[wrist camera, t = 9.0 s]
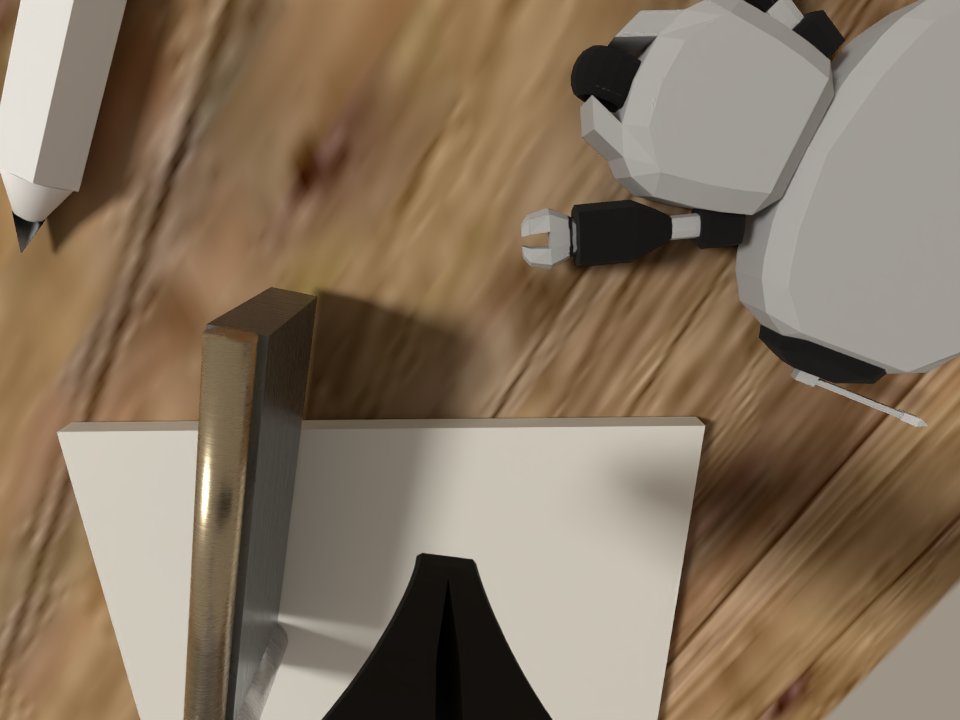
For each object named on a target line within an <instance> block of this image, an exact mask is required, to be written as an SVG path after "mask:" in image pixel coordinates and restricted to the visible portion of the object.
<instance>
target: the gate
mask: <svg viewBox="0 0 960 720" xmlns="http://www.w3.org/2000/svg"><path fill="white" fill-rule="evenodd" d="M316 302H317V296H313V295H308V294H303V293H298V292H293V291H288V290H283V289H278V288H273V287H271V288H269V289H267V290H265V291H264V292H262V293H260V294H258V295H257V296H255V297H253V298H251V299H250V300H248V301H246V302H244V303H243V304H241V305H239V306H238V307H236V308H234V309H232V310H231V311H229V312H227V313H225V314H224V315H222V316H220V317H218V318H217V319H215V320H213V321H211V322H210V323H208V324H207V329H206V330H205V331H204V332H203V345H202V364H201V384H200V403H199V423H198V443H197V462H196V482H195V501H194V521H193V541H192V560H191V580H190V599H189V619H188V639H187V658H186V678H185V697H184V717H183V720H237V717H238V715H239V713H240V710H241V708H242V705H243V703H244V701H245V698H246V696H247V693H248V691H249V689H250V686H251V684H252V681H253V679H254V677H255V674H256V672H257V669H258V667H259V665H260V662H261V660H262V657H263V655H264V653H265V650H266V648H267V645H268V643H269V641H270V638H271V636H272V633H273V631H274V628H275V626H276V624H277V621H278V616H279V607H280V599H281V591H282V583H283V574H284V566H285V558H286V550H287V541H288V533H289V525H290V517H291V508H292V500H293V492H294V484H295V475H296V467H297V459H298V451H299V442H300V434H301V426H302V418H303V409H304V401H305V393H306V385H307V376H308V368H309V360H310V352H311V343H312V335H313V327H314V319H315V310H316Z"/></svg>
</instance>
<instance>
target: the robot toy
mask: <svg viewBox="0 0 960 720" xmlns="http://www.w3.org/2000/svg"><path fill="white" fill-rule="evenodd" d="M844 41H845V39H844V38H843V37H842V35H841V34H840V32H839V31H838V30H837V28H836V27H835V26H834V24H833V23H832V22H831V20H830V19H829V17H828V16H827V15H826V13H825V12H824V11H823V10H820V11H815V12H810V13H807V14H805V15H802V14H801V12H800V11H799V9H798V8H797V7H796V5H795V4H794V3H793V1H792V0H703V1H701V2H699V3H697V4H695V5H693V6H691V7H689V8H687V9H685V10H648V11H640V12H639V13H638V14H637V15H636V16H635V17H634V18H633V19H632V20H631V21H630V22H629V23H628V24H627V25H626V26H625V27H624V28H623V29H622V30H621V31H620V32H619V33H618V34H617V35H616V36H615V37H614V38H613V40H612V41H611V42H610V44H609V45H608V46H602V45H595V46H592V47H590V48H588V49H586V50H585V51H583V52H582V53H581V55H580V56H579V57H578V58H577V60H576V62H575V64H574V66H573V70H572V74H571V87H572V90H573V93H574V95H576V96H577V97H578V98H579V99H581V100H582V101H584V102H585V103H584V104H583V105H582V106H581V108H580V115H581V130H582V138H583V139H584V140H585V141H586V142H587V143H588V144H590V145H591V146H592V147H593V148H594V149H595V150H596V151H597V152H598V153H599V154H600V155H601V156H602V157H603V158H604V159H605V160H606V161H607V162H608V164H609V166H610V169H611V171H612V174H613V176H614V178H615V180H617V181H618V182H619V183H620V184H621V185H622V186H623V187H625V188H626V189H627V190H628V191H629V192H630V193H631V194H633V195H634V196H636V197H640V198H644V199H648V200H652V201H656V202H660V203H664V204H668V205H672V206H678V207H684V208H689V209H693V210H692V213H691V214H682V215H671V216H668V215H666V214H664V213H662V212H660V211H658V210H656V209H653V208H651V207H648V206H645V205H643V204H640V203H637V202H635V201H632V200H622V201H611V202H601V203H590V204H580V205H574V207H573V208H572V210H571V217H569V216H567V215H564V214H562V213H559V212H557V211H554V210H552V209H549V208H546V209H543V210H540V211H537V212H534V213H531V214H528V215H527V216H526V218H525V219H524V221H523V222H522V224H521V236H522V237H525V236H527V235H530V234H537V233H545V232H548V245H549V246H533V247H528V246H523V245H522V251H523V258H524V259H525V260H526V262H527V263H528V264H529V265H530V266H533V267H540V268H547V269H552V268H553V267H555V266H557V265H559V264H560V263H562V262H564V261H565V260H567V259H569V258H570V257H572V256H573V259H574V262H575V264H576V267H583V266H594V265H606V264H617V263H629V262H632V261H634V260H636V259H638V258H640V257H642V256H644V255H645V254H647V253H649V252H651V251H653V250H655V249H656V248H658V247H660V246H661V245H663V244H664V243H666V242H667V241H669V240H678V239H689V238H691V239H692V240H693V242H694V243H695V244H696V245H697V246H698V247H699V248H700V249H705V248H716V247H728V246H735V245H738V244H739V246H738V251H737V259H736V270H735V271H736V278H737V285H738V292H739V299H740V301H741V302H742V303H743V305H744V306H745V307H746V308H747V309H748V310H749V311H750V312H751V314H752V315H753V316H754V317H755V318H756V319H757V320H758V321H759V322H760V324H761V327H760V334H759V338H760V339H761V340H762V341H763V342H764V343H765V344H766V345H767V346H768V347H769V349H770V350H771V351H772V352H773V353H774V354H775V355H777V356H778V357H779V358H780V359H781V360H782V361H784V362H785V363H787V364H789V365H790V366H792V367H794V368H795V369H794V370H793V372H792V374H791V377H793V378H794V379H795V380H797V381H800V382H802V383H805V384H807V385H810V386H812V387H814V386H815V384H816V385H818V386H821V387H823V388H826V389H828V390H831V391H833V392H836V393H838V394H841V395H843V396H846V397H848V398H851V399H853V400H856V401H858V402H860V403H863V404H865V405H868V406H870V407H873V408H875V409H878V410H880V411H883V412H885V413H888V414H890V415H893V416H895V417H897V418H898V419H899V420H901V421H904V422H906V423H909V424H911V425H914V426H916V427H917V426H928V425H927V424H926V423H925V422H924V421H923V420H922V419H920V418H918V417H917V416H915V415H913V414H910V413H908V412H905V411H903V410H900V409H899V410H896V409H894V408H891V407H889V406H886V405H884V404H881V403H879V402H876V401H874V400H871V399H869V398H866V397H864V396H861V395H859V394H856V393H854V392H851V391H849V390H846V389H844V388H841V387H839V386H836V385H834V384H831V383H829V382H826V381H824V380H821V379H819V378H822V379H825V380H827V381H830V382H833V383H867V384H874V383H875V382H876V381H877V380H879V379H880V378H881V377H883V376H884V375H885V374H891V373H924V372H928V371H930V370H932V369H934V368H936V367H938V366H940V365H942V364H944V363H945V362H947V361H949V360H951V359H953V358H955V357H957V356H959V355H960V0H919V1H917V2H914V3H912V4H910V5H908V6H906V7H903V8H901V9H899V10H897V11H895V12H893V13H890V14H889V15H887V16H886V17H884V18H883V19H881V20H880V21H878V22H877V23H875V24H874V25H872V26H871V27H870V28H868V29H867V30H865V31H864V32H862V33H861V34H859V35H858V36H856V37H855V38H854V39H853V40H852V41H851V42H850V43H849V44H848V45H847V46H846V47H845V48H844V49H843V50H842V51H841V52H840V53H839V54H838V55H837V56H836V57H835V58H834V59H833V61H832V62H830V60H829V59H828V57H829V56H830V55H832V54H833V53H834V52H835V51H836V50H837V49H838V48H839V46H840V45H841V44H842V43H843V42H844ZM610 112H612V113H610ZM745 214H746V215H745Z"/></svg>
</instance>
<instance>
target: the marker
mask: <svg viewBox="0 0 960 720" xmlns="http://www.w3.org/2000/svg"><path fill="white" fill-rule="evenodd" d="M126 3H127V0H21V2H20V7H19V12H18V17H17V22H16V28H15V33H14V38H13V43H12V48H11V53H10V58H9V63H8V68H7V73H6V78H5V83H4V89H3V94H2V99H1V104H0V173H1V176H2V179H3V182H4V185H5V188H6V191H7V194H8V197H9V200H10V203H11V207H12V210H13V211H12V213H13V218H14V222H15V227H16V232H17V237H18V242H19V246H20V251H21V253H22V252H23V250H24V249H25V248H26V246H27V245H28V243H29V242H30V241H31V239H32V238H33V236H34V235H35V234H36V232H37V231H38V229H39V228H40V227H41V225H42V224H43V222H44V221H45V218H46V217H47V216H48V215H49V214H50V213H52V212H53V211H54V210H55V209H56V208H57V207H58V206H59V205H60V204H61V203H62V202H63V201H64V200H65V199H66V198H67V197H68V196H69V195H70V194H71V193H72V192H73V191H77V192H79V189H80V185H81V182H82V178H83V174H84V170H85V166H86V162H87V158H88V154H89V150H90V146H91V142H92V138H93V134H94V130H95V126H96V122H97V118H98V114H99V110H100V106H101V102H102V98H103V94H104V90H105V86H106V82H107V78H108V74H109V70H110V66H111V62H112V58H113V54H114V50H115V46H116V42H117V38H118V34H119V30H120V26H121V22H122V18H123V14H124V10H125V6H126Z"/></svg>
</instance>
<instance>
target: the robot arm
mask: <svg viewBox="0 0 960 720" xmlns="http://www.w3.org/2000/svg"><path fill="white" fill-rule="evenodd" d="M322 720H553V719H552V718H551V716H550V715H549V713H548V712H547V711H546V709H545V708H544V706H543V704H542V703H541V701H540V700H539V698H538V696H537V695H536V693H535V692H534V690H533V688H532V687H531V685H530V683H529V682H528V680H527V678H526V677H525V675H524V673H523V671H522V669H521V668H520V666H519V664H518V662H517V660H516V658H515V656H514V654H513V653H512V651H511V649H510V647H509V645H508V643H507V641H506V639H505V636H504V634H503V632H502V630H501V628H500V626H499V623H498V621H497V619H496V617H495V615H494V612H493V610H492V607H491V605H490V602H489V600H488V597H487V595H486V592H485V589H484V587H483V584H482V581H481V578H480V575H479V572H478V568H477V564H476V563H475V561H474V560H473V559H467V558H460V557H452V556H444V555H436V554H428V553H421V554H419V555H417V556H416V561H415V566H414V570H413V573H412V576H411V578H410V581H409V583H408V586H407V588H406V590H405V593H404V595H403V597H402V599H401V601H400V603H399V605H398V607H397V609H396V611H395V613H394V615H393V617H392V619H391V620H390V622H389V624H388V626H387V627H386V629H385V631H384V632H383V634H382V636H381V637H380V639H379V641H378V642H377V644H376V646H375V647H374V649H373V651H372V652H371V654H370V655H369V657H368V658H367V660H366V661H365V663H364V664H363V666H362V667H361V669H360V670H359V671H358V673H357V674H356V676H355V677H354V678H353V680H352V681H351V683H350V684H349V685H348V687H347V688H346V689H345V691H344V692H343V693H342V694H341V696H340V697H339V698H338V700H337V701H336V702H335V703H334V705H333V706H332V707H331V709H330V710H329V711H328V712H327V713H326V715H325V716H324V717H323V718H322Z"/></svg>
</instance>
